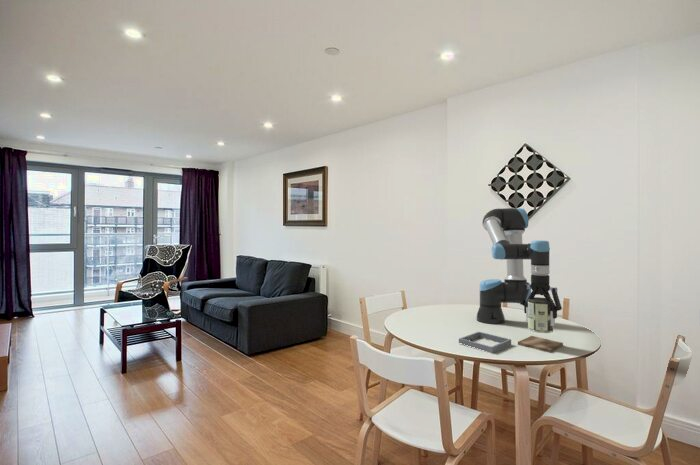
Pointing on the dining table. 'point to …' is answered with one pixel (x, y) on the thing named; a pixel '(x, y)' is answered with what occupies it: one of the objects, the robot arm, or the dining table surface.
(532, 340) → the walnut board
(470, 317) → the dining table surface
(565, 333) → the dining table surface
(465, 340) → the grey flat open frame
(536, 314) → the coffee can
